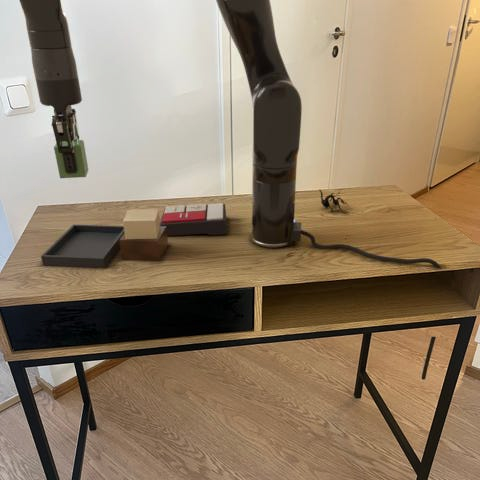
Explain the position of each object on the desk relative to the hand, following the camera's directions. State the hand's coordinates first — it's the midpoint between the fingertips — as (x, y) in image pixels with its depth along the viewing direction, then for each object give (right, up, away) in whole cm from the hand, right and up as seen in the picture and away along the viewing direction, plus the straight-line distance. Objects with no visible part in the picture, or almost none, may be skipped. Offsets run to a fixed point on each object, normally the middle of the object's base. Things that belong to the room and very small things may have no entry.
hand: (73, 168), depth 100 cm
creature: (+58, -2, +29) cm, 65 cm away
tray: (0, -15, +9) cm, 18 cm away
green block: (0, -1, +1) cm, 1 cm away
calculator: (+23, -8, +20) cm, 31 cm away
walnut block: (+13, -16, +8) cm, 22 cm away
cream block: (+13, -12, +5) cm, 19 cm away
